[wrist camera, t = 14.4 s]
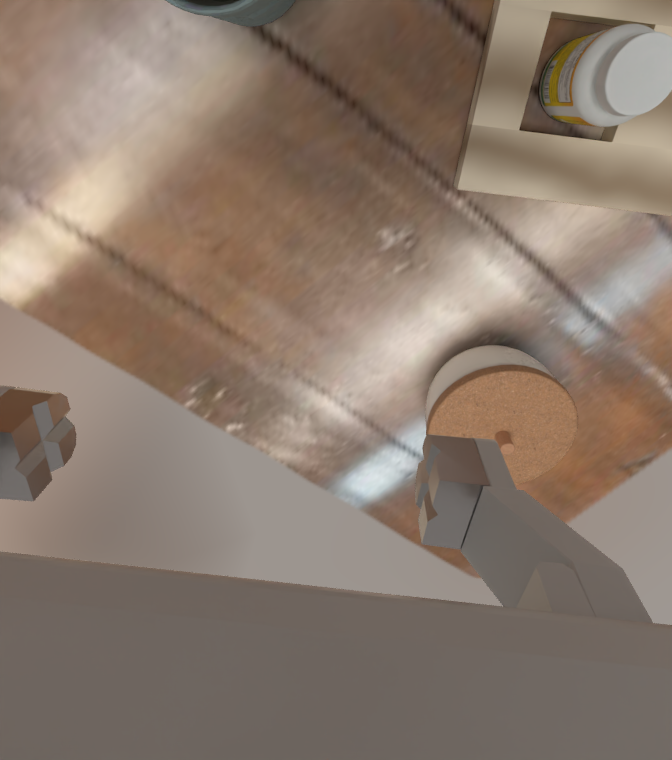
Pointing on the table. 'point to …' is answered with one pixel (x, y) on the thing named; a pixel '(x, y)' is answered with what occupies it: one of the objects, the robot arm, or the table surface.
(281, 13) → the blue-grey cup
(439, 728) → the robot arm
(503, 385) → the lidded bowl
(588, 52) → the supplement bottle
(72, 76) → the table surface
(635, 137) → the pin board
